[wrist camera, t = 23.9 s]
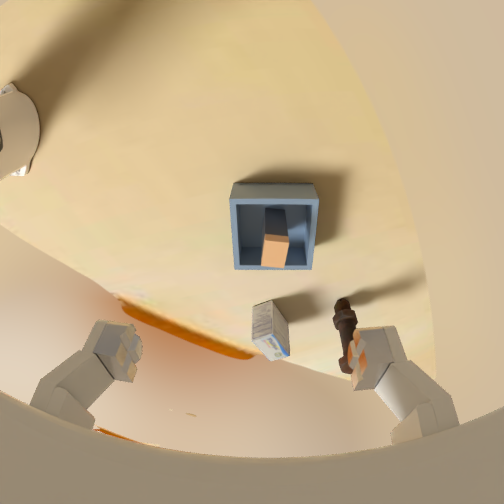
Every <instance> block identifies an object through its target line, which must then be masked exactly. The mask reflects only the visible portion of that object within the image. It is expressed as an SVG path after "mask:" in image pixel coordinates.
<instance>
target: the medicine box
mask: <svg viewBox="0 0 504 504" xmlns="http://www.w3.org/2000/svg"><path fill="white" fill-rule="evenodd" d="M252 342H253V343H254V344H255V345H256V346H257V347H258V348H259V350H260V351H261V352H262V353H263V354H264V355H265V356H266V357H267V358H268V359H269V361H273V360H277V359H281V358H285V357H288V356H290V345H289V330H288V323H287V321H286V320H285V318H284V317H283V316H282V314H281V313H280V311H279V310H278V308H277V307H276V306H275V304H274V303H273V301H272V300H271V301H268V302H265V303H262V304H260V305H257V306H254V307H253V308H252Z"/></svg>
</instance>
